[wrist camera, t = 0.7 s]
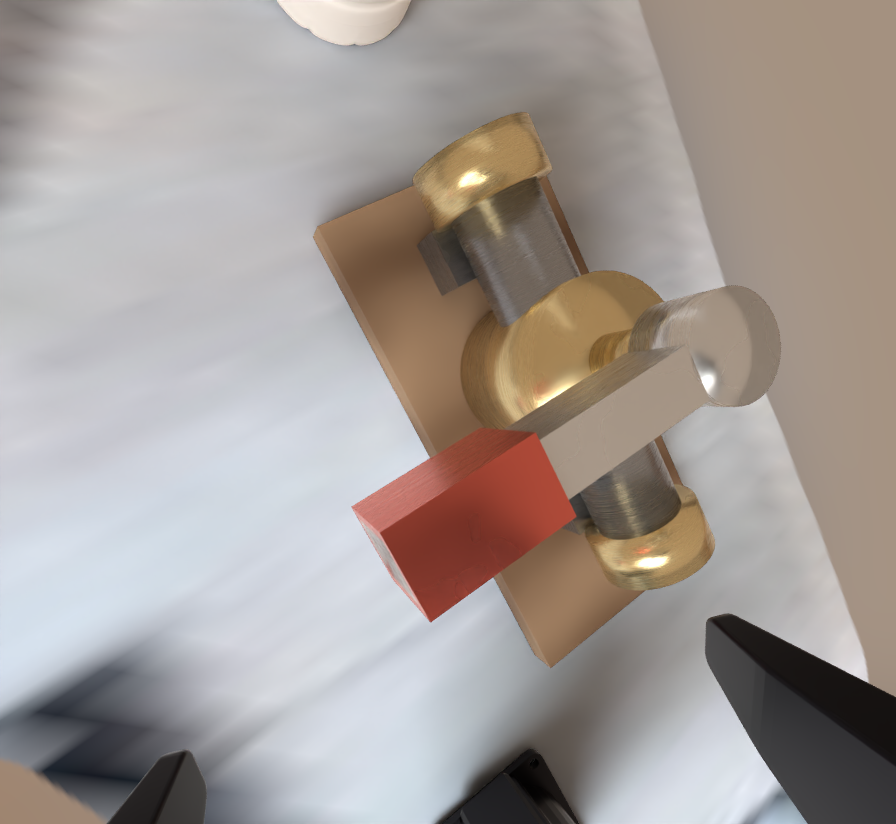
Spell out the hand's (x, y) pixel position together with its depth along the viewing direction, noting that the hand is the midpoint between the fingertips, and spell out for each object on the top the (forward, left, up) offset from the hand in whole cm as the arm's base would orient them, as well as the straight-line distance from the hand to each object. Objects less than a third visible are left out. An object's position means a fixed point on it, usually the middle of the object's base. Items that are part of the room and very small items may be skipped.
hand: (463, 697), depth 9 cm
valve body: (+1, -11, -14) cm, 18 cm away
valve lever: (+1, -6, -5) cm, 8 cm away
